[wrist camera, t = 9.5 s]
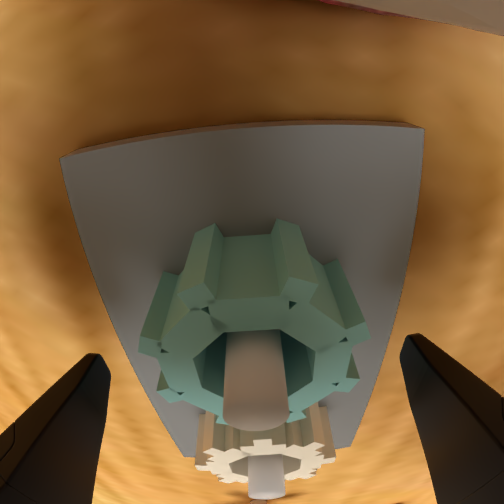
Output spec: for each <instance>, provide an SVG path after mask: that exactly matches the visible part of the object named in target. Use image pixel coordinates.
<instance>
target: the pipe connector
mask: <svg viewBox="0 0 504 504" xmlns="http://www.w3.org/2000/svg"><path fill="white" fill-rule="evenodd" d="M250 504H267V501H266V500H252V501H250Z"/></svg>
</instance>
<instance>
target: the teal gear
mask: <svg viewBox="0 0 504 504" xmlns="http://www.w3.org/2000/svg"><path fill="white" fill-rule="evenodd" d="M271 329H280V336H281V344H282V352H283V361H284V369H285V378H286V387H287V395H288V404H289V413H290V415H289V418H288V419H287V421H286V422H287V423H289V422H293V421H296V420H300V419H303V418H307V417H306V410H305V409H306V408H308V407H309V406H311V405H313V404H314V403H316V402H318V401H319V400H321V399H323V398H324V397H326V396H328V395H329V394H331V393H332V392H334V391H338V392H350V391H351V389H352V388H353V387H354V386H355V385H356V384H357V383H358V381H359V380H360V377H359V374H358V370H357V367H356V364H355V361H354V358H353V355H352V347H353V346H354V345H356V344H359V343H361V342H363V341H366V340H368V339H370V338H371V336H370V333H369V330H368V327H367V324H366V321H365V319H364V316H363V314H362V312H361V309H360V307H359V305H358V303H357V300H356V298H355V296H354V293H353V291H352V289H351V287H350V285H349V282H348V280H347V278H346V276H345V273H344V271H343V269H342V267H341V265H340V263H339V260H338V259H336V260H334V261H332V262H330V263H327V264H325V265H322V264H320V263H319V262H318V261H317V260H316V259H314V258H313V257H312V256H311V255H310V254H309V253H308V251H307V248H306V245H305V242H304V239H303V236H302V233H301V230H300V227H299V225H296V224H293V223H290V222H287V221H284V220H280V219H276V222H275V224H274V227H273V229H272V232H271V234H262V235H248V236H235V237H223V235H222V233H221V232H220V230H219V228H218V227H217V225H216V224H215V223H214V224H212V225H210V226H208V227H206V228H204V229H202V230H200V231H198V232H196V233H195V234H194V238H193V241H192V244H191V247H190V251H189V254H188V257H187V261H186V264H185V267H184V270H183V271H182V272H181V273H180V275H175V274H172V273H168V272H165V271H163V273H162V276H161V278H160V281H159V284H158V286H157V289H156V292H155V294H154V297H153V300H152V303H151V305H150V308H149V311H148V314H147V317H146V319H145V322H144V325H143V328H142V331H141V334H140V339H139V347H138V353H141V354H144V355H148V356H151V357H155V358H157V360H158V362H159V365H160V367H161V372H160V377H159V381H158V385H157V390H156V392H157V393H158V394H160V395H161V396H162V397H163V398H164V399H165V400H167V401H168V402H169V403H172V402H177V401H181V400H184V401H186V402H188V403H190V404H193V405H195V406H197V407H199V408H202V409H204V410H206V411H209V412H211V413H213V414H216V420H215V423H219V424H225V425H228V424H227V423H226V422H225V421H224V419H223V396H224V377H225V358H226V341H227V332H240V331H257V330H271Z"/></svg>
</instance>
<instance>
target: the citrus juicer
mask: <svg viewBox="0 0 504 504" xmlns="http://www.w3.org/2000/svg"><path fill="white" fill-rule="evenodd" d="M318 1H321V2H324V3H328V4H334V5H339V6H344V7H349V8H354V9H359V10H363V11H368V12H372V13H376V14H380V15H390V16H400V17H408V18H416V19H423V20H430V21H435V22H441V23H446V24H451V25H456V26H460V27H465V28H469V29H473V30H477V31H482V32H487V33H492V34H496V35H501V36H504V0H318Z"/></svg>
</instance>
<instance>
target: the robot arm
mask: <svg viewBox="0 0 504 504" xmlns="http://www.w3.org/2000/svg"><path fill="white" fill-rule="evenodd" d="M400 363H401V367H402V372H403V376H404V380H405V385H406V390H407V395H408V399H409V403H410V407H411V410H412V413H413V416H414V420H415V423H416V426H417V429H418V433H419V436H420V439H421V443H422V446H423V450H424V453H425V457H426V460H427V464H428V468H429V471H430V475H431V479H432V483H433V487H434V491H435V496H436V500H437V504H504V397H501V395H500V394H499V393H497V392H496V391H495V390H494V389H492V388H491V387H490V386H489V385H487V384H486V383H485V382H483V381H482V380H481V379H480V378H478V377H477V376H476V375H474V374H473V373H472V372H471V371H469V370H468V369H467V368H465V367H464V366H463V365H461V364H460V363H459V362H458V361H456V360H455V359H454V358H452V357H451V356H450V355H448V354H447V353H446V352H444V351H443V350H442V349H440V348H439V347H438V346H436V345H435V344H434V343H432V342H431V341H430V340H428V339H427V338H426V337H424V336H423V335H422V334H420V333H416V334H410V335H407V336H406V338H405V341H404V344H403V347H402V350H401V352H400ZM110 381H111V373H110V370H109V368H108V367H107V365H106V363H105V361H104V359H103V357H102V356H101V355H100V354H95V353H88V354H86V355H85V356H84V357H83V358H82V359H81V360H80V361H79V362H78V363H76V364H75V365H74V366H73V367H72V368H71V369H70V370H69V371H68V372H67V373H65V374H64V375H63V376H62V377H61V378H60V379H59V380H58V381H57V382H56V383H55V384H54V385H52V386H51V387H50V388H49V389H48V390H47V391H46V392H45V393H44V394H43V395H42V396H41V397H40V398H39V399H38V400H36V401H35V402H34V403H33V404H32V405H31V406H30V407H29V408H28V409H27V410H26V411H25V412H24V413H23V414H22V415H21V416H20V417H19V418H17V419H16V420H15V422H13V423H12V424H11V425H10V426H9V427H8V428H7V429H6V430H5V431H4V432H3V433H2V434H1V435H0V504H92V498H93V491H94V484H95V477H96V471H97V465H98V459H99V454H100V448H101V443H102V438H103V433H104V428H105V423H106V416H107V407H108V398H109V389H110Z"/></svg>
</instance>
